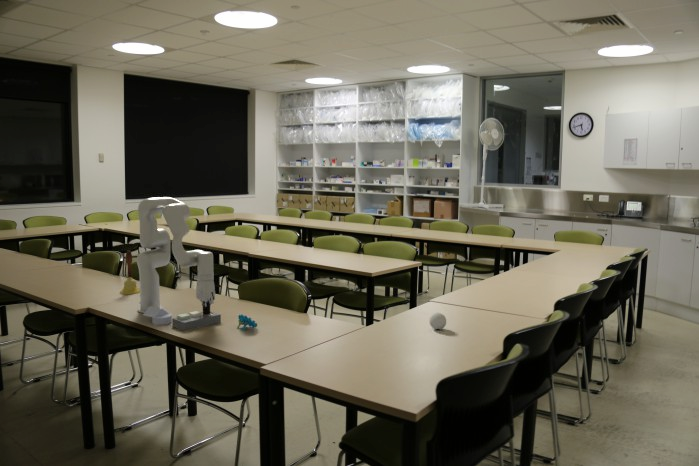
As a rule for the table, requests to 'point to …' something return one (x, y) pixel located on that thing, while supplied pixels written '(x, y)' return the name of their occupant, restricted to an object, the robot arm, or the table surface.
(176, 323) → the button panel
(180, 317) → the button
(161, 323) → the wedge on round base
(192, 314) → the button
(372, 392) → the table surface
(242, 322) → the blue flower cluster
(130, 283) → the handbell
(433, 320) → the ball
